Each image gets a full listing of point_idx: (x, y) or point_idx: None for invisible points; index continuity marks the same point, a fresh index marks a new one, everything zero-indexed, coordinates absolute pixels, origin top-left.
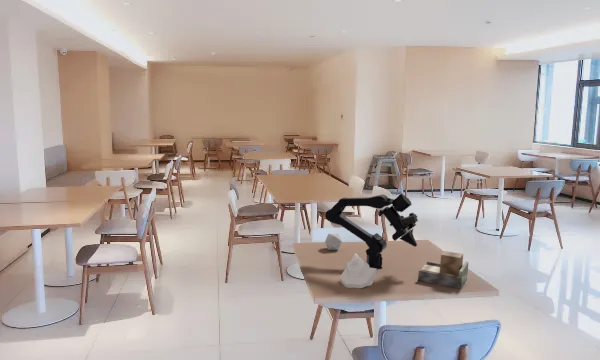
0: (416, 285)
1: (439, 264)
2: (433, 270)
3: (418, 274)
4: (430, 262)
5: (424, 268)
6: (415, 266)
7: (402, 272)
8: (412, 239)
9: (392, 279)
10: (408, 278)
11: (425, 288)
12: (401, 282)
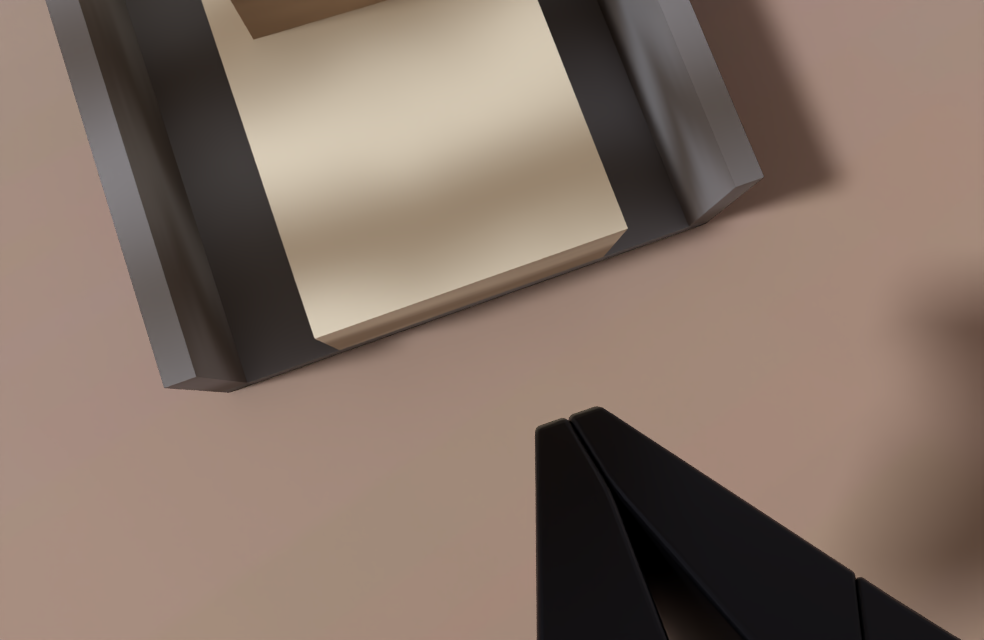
0: (868, 136)
1: (132, 166)
2: (491, 77)
3: (738, 196)
4: (173, 315)
5: (525, 221)
6: (165, 633)
7: None
8: (855, 579)
9: (960, 467)
10: (737, 356)
11: (859, 12)
12: (946, 318)
